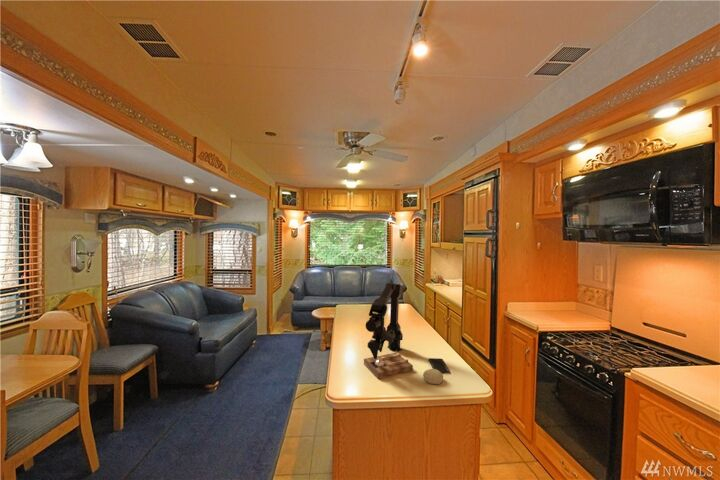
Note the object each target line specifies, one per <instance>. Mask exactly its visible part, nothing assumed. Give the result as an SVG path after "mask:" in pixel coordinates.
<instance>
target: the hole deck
mask: <svg viewBox="0 0 720 480" xmlns="http://www.w3.org/2000/svg"><path fill="white" fill-rule="evenodd" d="M378 359H381V360H383V362H384V367H380V368H376V367H375V361H376V360H378ZM363 366H364V367H365V368H367V369H368V370H369V371H370V373H371V374H372V375H373V376H374V377H375V378H376V379H377V380H381V379H384V378H389V377H394V376H398V375H401V374H406V373H411V372H413V371H414V370H413V369H414V367H413V366H414V365H413V364H411V363H410V362H409V359H407V358H406V359H405V358H404V357H403V356H402V354H401V353H397V352H392V353H386V354H382V355H377V359H374V357H373V356H371V357H366V358H363Z"/></svg>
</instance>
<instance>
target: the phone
mask: <svg viewBox="0 0 720 480" xmlns="http://www.w3.org/2000/svg"><path fill="white" fill-rule="evenodd" d="M428 362H429V364H430V367H431V369H436V370H438V371H440V372H441V373H449V374H450V373H451V370H450V369H449V367H448V366H447V364H446V362H445V361H444V359H443V358H439V357H438V358H436V357H435V358H434V357H433V358H431V357H430V358H428Z"/></svg>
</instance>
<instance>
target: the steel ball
mask: <svg viewBox="0 0 720 480" xmlns="http://www.w3.org/2000/svg"><path fill="white" fill-rule="evenodd" d="M380 367H384V362H383V360H381V359H378V360H376V361H375V368H380Z"/></svg>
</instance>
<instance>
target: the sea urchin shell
mask: <svg viewBox="0 0 720 480" xmlns="http://www.w3.org/2000/svg"><path fill="white" fill-rule="evenodd" d="M422 378H423V379H424V381H426V382H427V384H431V385H440V384H441V383H442V382H443V380H444V374H442V373H441V372H440V371H438V370H436V369H433V368H428V369H426V370H424V371H423V374H422Z"/></svg>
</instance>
